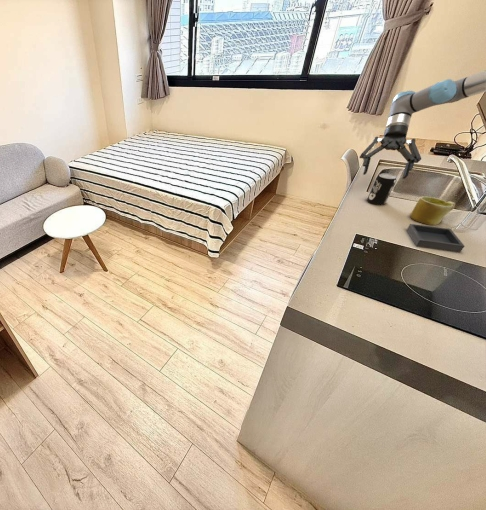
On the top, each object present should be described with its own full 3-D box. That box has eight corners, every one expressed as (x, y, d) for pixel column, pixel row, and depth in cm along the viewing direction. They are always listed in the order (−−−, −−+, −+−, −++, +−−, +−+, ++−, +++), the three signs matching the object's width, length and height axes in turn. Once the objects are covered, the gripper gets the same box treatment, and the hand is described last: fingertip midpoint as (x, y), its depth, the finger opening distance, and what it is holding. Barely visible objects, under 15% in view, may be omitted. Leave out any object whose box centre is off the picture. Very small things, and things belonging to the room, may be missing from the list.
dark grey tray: (445, 236, 96) (450, 228, 94) (459, 253, 88) (464, 246, 86) (405, 230, 100) (410, 223, 98) (415, 247, 92) (420, 239, 90)
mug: (420, 223, 99) (435, 196, 96) (399, 218, 109) (412, 193, 106) (456, 231, 99) (472, 203, 95) (432, 225, 108) (445, 200, 105)
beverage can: (362, 200, 120) (374, 173, 113) (376, 199, 121) (389, 172, 114) (373, 207, 115) (386, 179, 108) (388, 205, 116) (402, 177, 108)
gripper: (429, 135, 115) (418, 182, 114) (358, 132, 126) (347, 175, 124) (440, 124, 108) (428, 174, 107) (364, 121, 119) (352, 167, 117)
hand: (384, 175), depth 115 cm, fingers open, 13 cm apart
